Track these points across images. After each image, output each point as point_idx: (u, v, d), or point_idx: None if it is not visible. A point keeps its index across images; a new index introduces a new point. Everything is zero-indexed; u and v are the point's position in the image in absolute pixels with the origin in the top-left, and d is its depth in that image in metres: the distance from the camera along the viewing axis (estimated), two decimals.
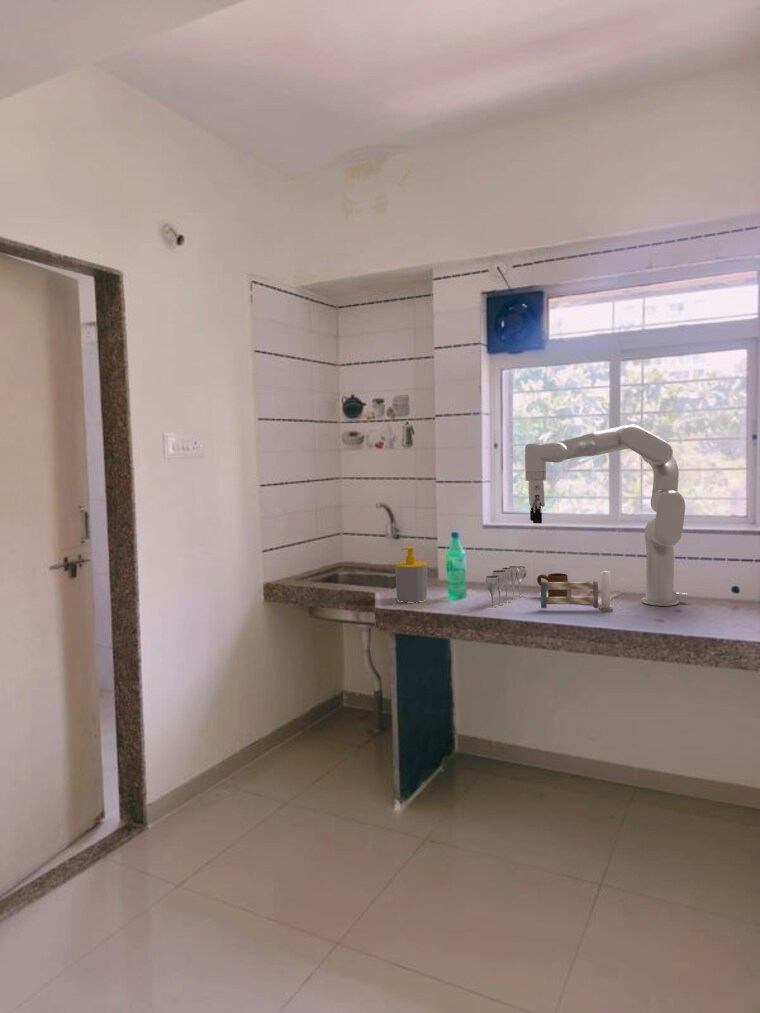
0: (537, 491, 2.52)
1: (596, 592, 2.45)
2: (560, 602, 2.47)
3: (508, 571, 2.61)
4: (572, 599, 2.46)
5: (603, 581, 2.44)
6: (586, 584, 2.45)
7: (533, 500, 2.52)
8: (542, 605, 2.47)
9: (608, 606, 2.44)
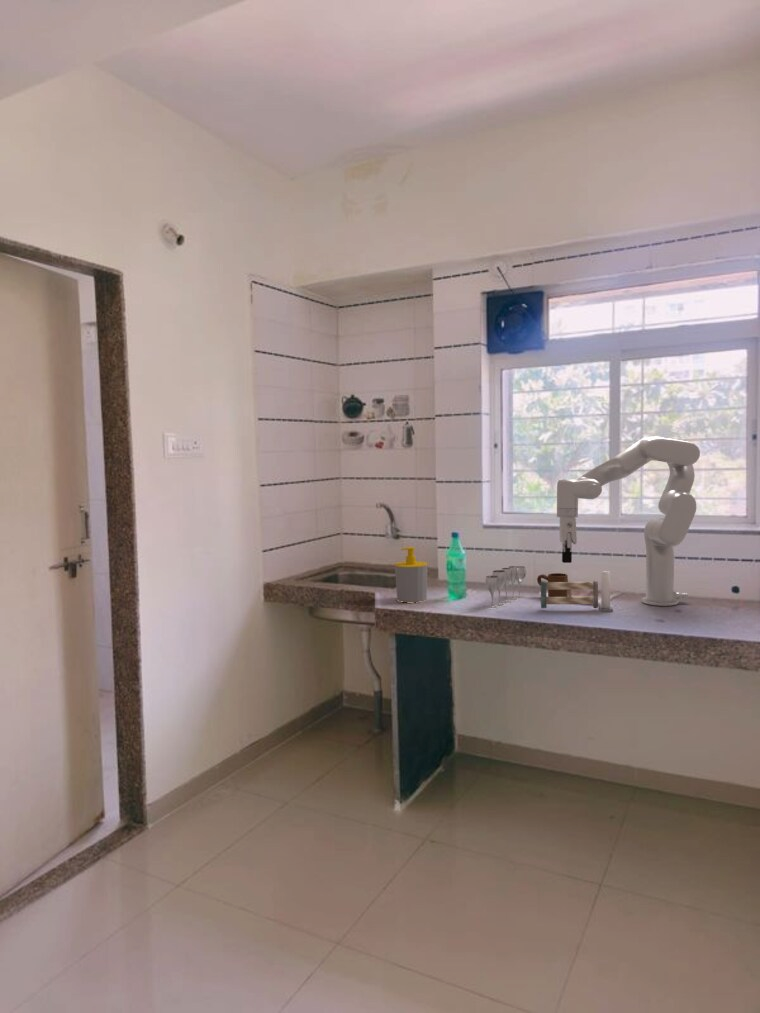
0: (569, 528, 2.47)
1: (596, 592, 2.45)
2: (560, 602, 2.47)
3: (508, 571, 2.61)
4: (572, 599, 2.46)
5: (603, 581, 2.44)
6: (586, 584, 2.45)
7: (565, 537, 2.47)
8: (542, 605, 2.47)
9: (608, 606, 2.44)
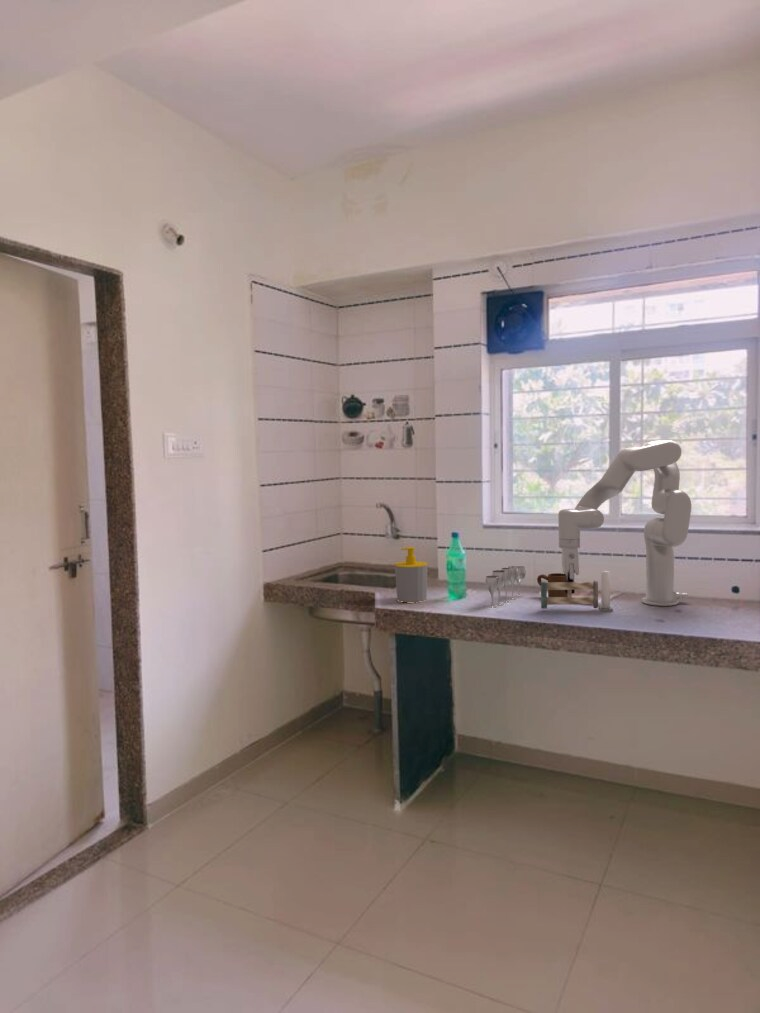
0: (571, 559, 2.44)
1: (596, 592, 2.45)
2: (560, 602, 2.46)
3: (508, 571, 2.61)
4: (572, 599, 2.46)
5: (603, 581, 2.44)
6: (586, 584, 2.45)
7: (567, 569, 2.44)
8: (542, 605, 2.47)
9: (608, 606, 2.44)
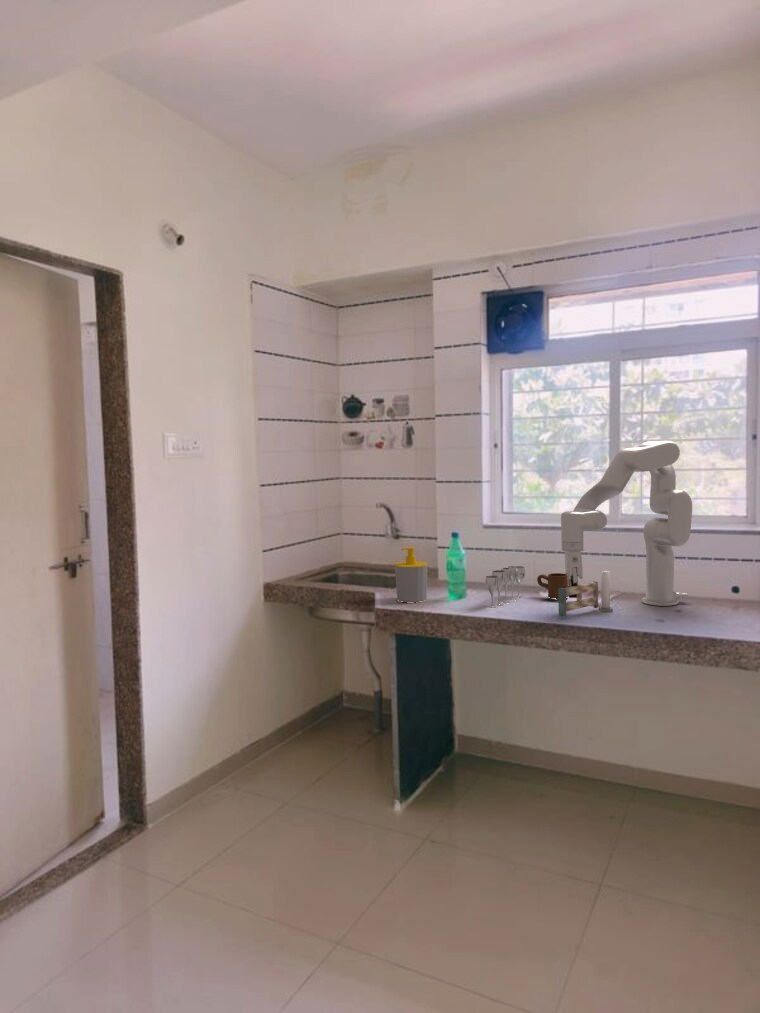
0: (575, 563, 2.38)
1: (597, 592, 2.45)
2: (575, 607, 2.38)
3: (507, 571, 2.61)
4: (582, 602, 2.40)
5: (603, 581, 2.44)
6: (591, 585, 2.43)
7: (570, 572, 2.38)
8: (563, 613, 2.34)
9: (608, 606, 2.44)
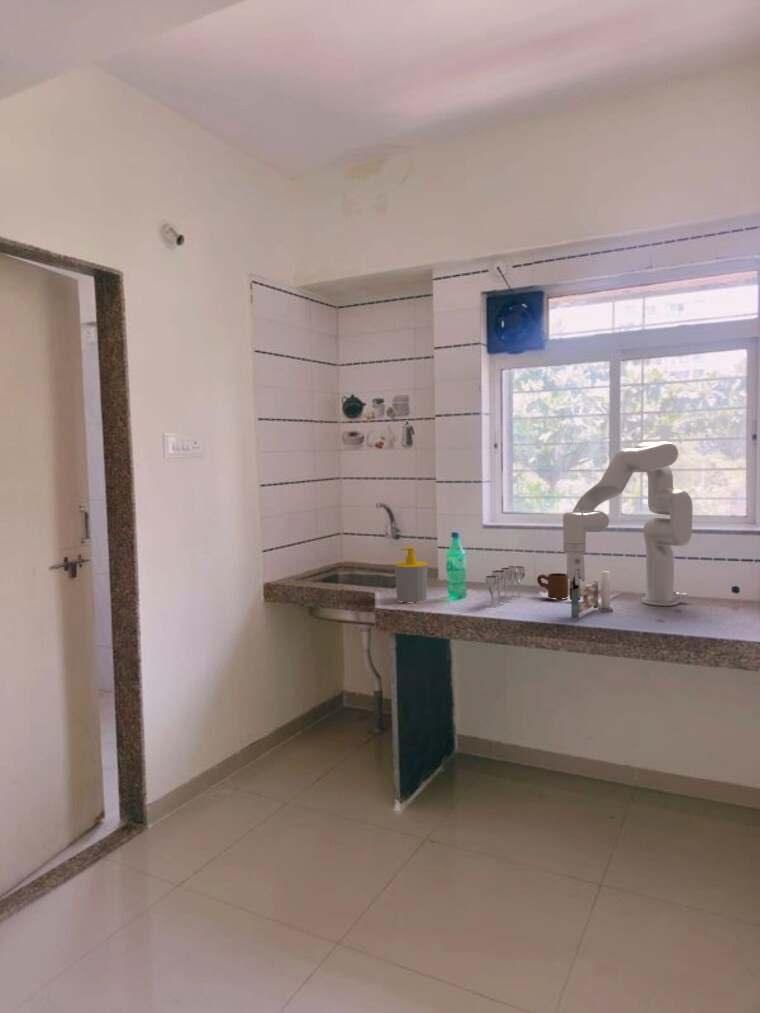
0: (577, 565, 2.33)
1: (597, 591, 2.45)
2: (584, 608, 2.36)
3: (507, 571, 2.61)
4: (588, 603, 2.39)
5: (603, 581, 2.44)
6: (594, 585, 2.42)
7: (572, 574, 2.33)
8: (576, 615, 2.31)
9: (608, 606, 2.44)
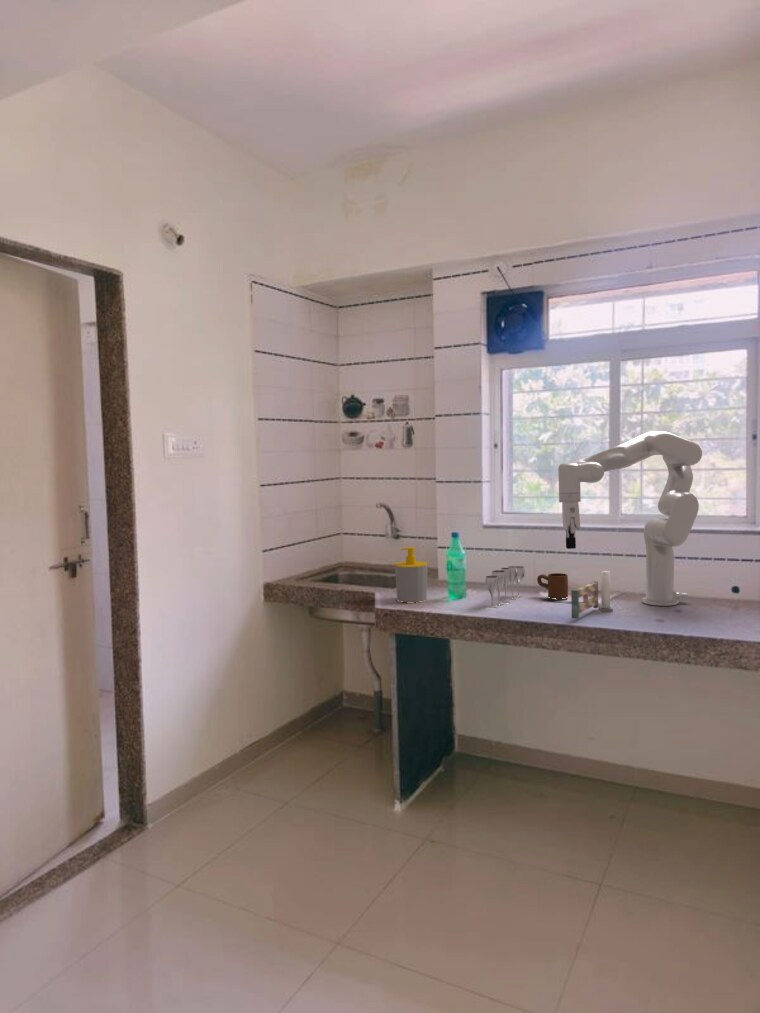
0: (572, 513, 2.41)
1: (597, 591, 2.45)
2: (584, 608, 2.36)
3: (507, 571, 2.61)
4: (588, 603, 2.39)
5: (603, 581, 2.44)
6: (594, 585, 2.42)
7: (568, 523, 2.42)
8: (577, 615, 2.31)
9: (608, 606, 2.44)
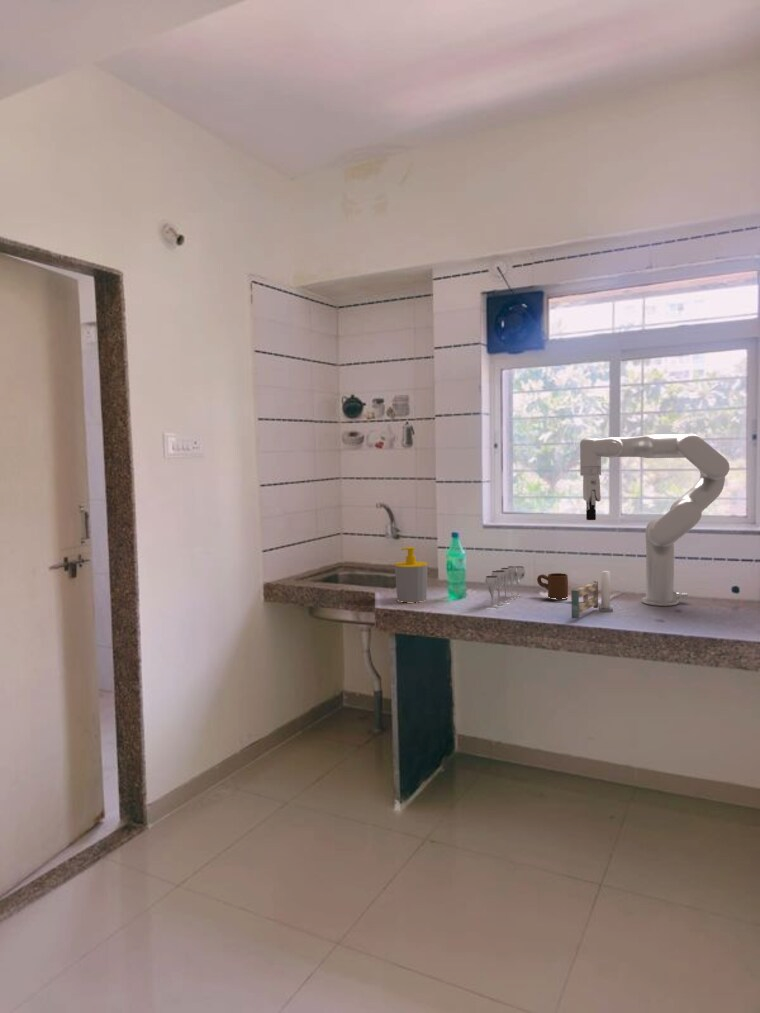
0: (593, 486, 2.53)
1: (597, 591, 2.45)
2: (584, 608, 2.36)
3: (507, 571, 2.61)
4: (588, 603, 2.39)
5: (603, 581, 2.44)
6: (594, 585, 2.42)
7: (589, 495, 2.54)
8: (577, 615, 2.31)
9: (608, 606, 2.44)
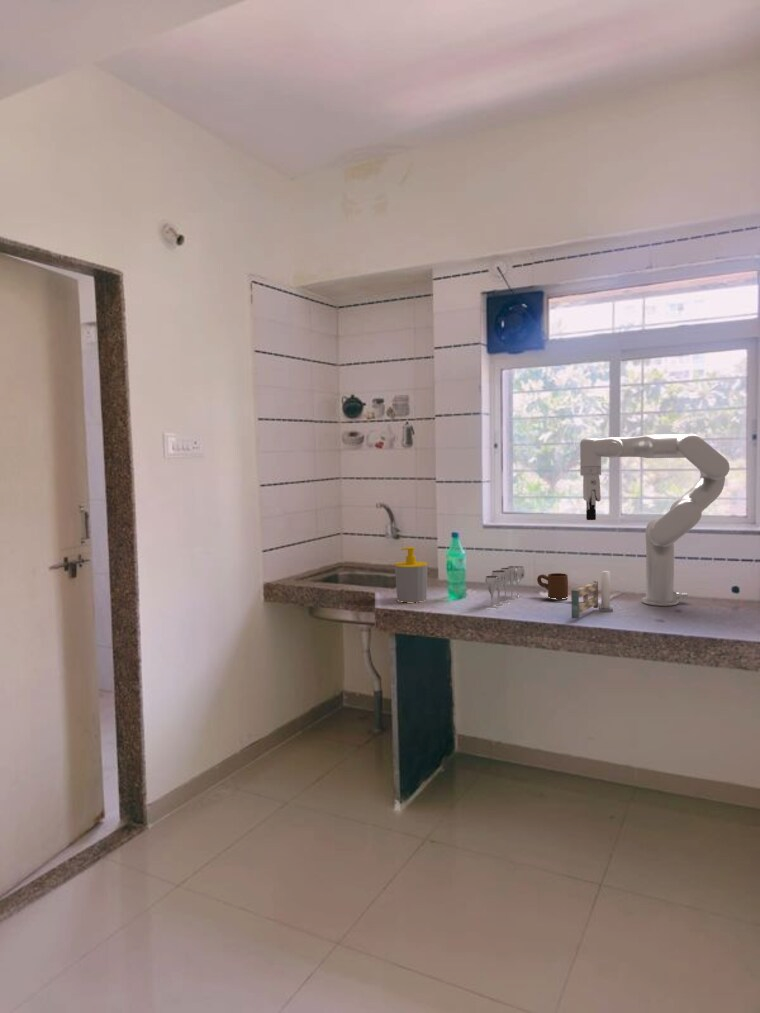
0: (593, 486, 2.53)
1: (597, 591, 2.45)
2: (584, 608, 2.36)
3: (507, 571, 2.61)
4: (588, 603, 2.39)
5: (603, 581, 2.44)
6: (594, 585, 2.42)
7: (589, 495, 2.54)
8: (577, 615, 2.31)
9: (608, 606, 2.44)
